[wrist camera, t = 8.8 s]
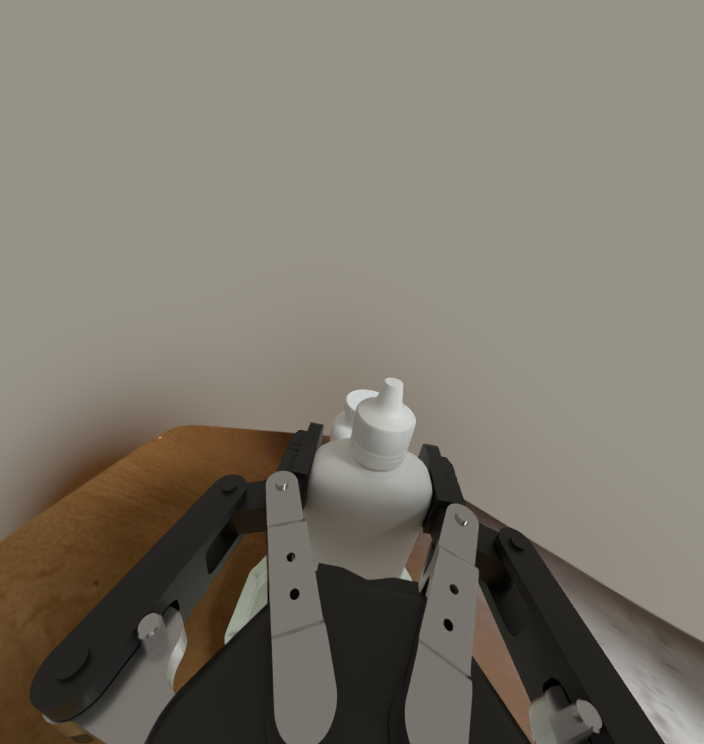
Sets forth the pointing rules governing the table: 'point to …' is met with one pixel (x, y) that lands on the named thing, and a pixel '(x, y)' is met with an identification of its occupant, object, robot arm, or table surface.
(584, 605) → the table surface
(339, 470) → the eye dropper bottle
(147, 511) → the table surface
